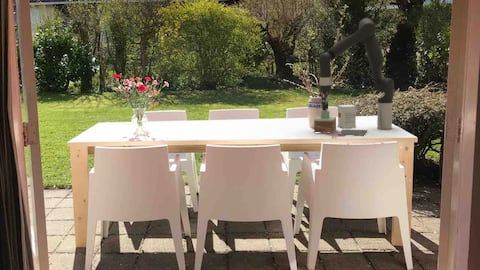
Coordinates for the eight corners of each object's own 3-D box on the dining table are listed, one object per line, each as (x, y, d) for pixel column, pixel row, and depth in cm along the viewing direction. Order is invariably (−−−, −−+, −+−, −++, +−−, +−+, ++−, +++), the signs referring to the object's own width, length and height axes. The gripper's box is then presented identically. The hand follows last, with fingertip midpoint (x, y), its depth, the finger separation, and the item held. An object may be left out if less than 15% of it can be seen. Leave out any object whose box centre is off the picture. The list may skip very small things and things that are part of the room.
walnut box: (318, 130, 339) (317, 118, 337) (336, 130, 335) (336, 118, 333) (314, 133, 328) (314, 120, 326) (333, 133, 324) (333, 121, 322)
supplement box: (337, 126, 349) (337, 105, 346) (349, 125, 352) (349, 104, 349) (344, 128, 340) (344, 106, 338) (355, 127, 343) (356, 105, 340)
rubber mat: (342, 130, 334) (342, 129, 334) (367, 130, 329) (367, 130, 329) (338, 135, 318) (338, 134, 317) (364, 136, 312) (364, 135, 312)
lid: (317, 119, 337) (317, 109, 336) (336, 119, 333) (336, 110, 332) (314, 122, 326) (314, 112, 325) (333, 122, 322) (333, 112, 321)
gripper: (321, 83, 333) (321, 108, 336) (317, 85, 320) (317, 110, 323) (333, 83, 331) (332, 108, 333) (329, 85, 317) (329, 111, 320)
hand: (325, 109), depth 328 cm, fingers open, 8 cm apart
